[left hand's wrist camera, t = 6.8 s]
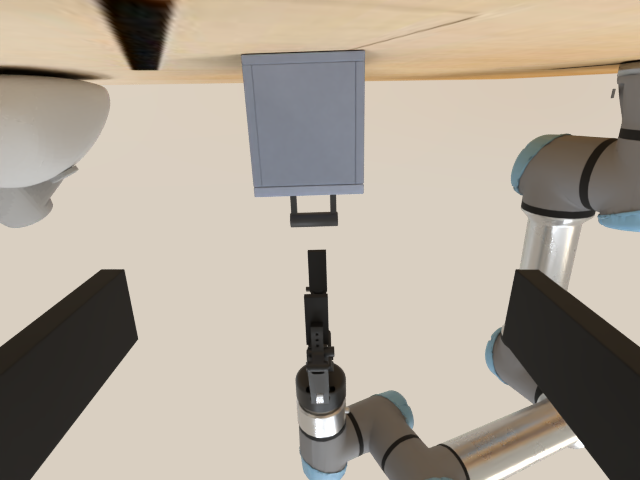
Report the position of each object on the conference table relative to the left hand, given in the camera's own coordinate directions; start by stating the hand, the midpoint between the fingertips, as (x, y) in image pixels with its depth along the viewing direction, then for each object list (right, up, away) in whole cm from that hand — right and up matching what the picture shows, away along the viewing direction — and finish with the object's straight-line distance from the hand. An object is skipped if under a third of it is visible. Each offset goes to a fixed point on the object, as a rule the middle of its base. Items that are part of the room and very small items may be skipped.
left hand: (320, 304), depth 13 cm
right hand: (0, -2, +37) cm, 37 cm away
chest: (-1, +19, +23) cm, 30 cm away
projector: (-32, +19, +26) cm, 45 cm away
